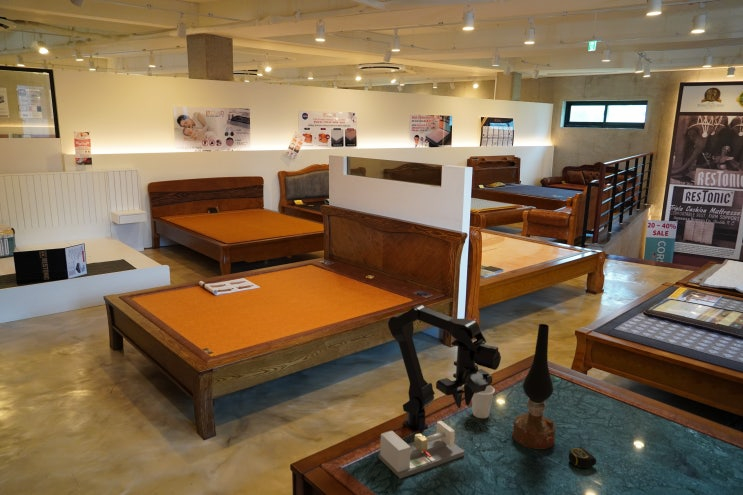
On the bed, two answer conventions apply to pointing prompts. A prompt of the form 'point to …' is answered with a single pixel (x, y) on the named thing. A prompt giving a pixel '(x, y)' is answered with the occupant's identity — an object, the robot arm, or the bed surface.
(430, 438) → the plunger
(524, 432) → the oil lamp
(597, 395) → the bed surface
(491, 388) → the dixie cup
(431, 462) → the base
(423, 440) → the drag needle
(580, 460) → the tape measure
